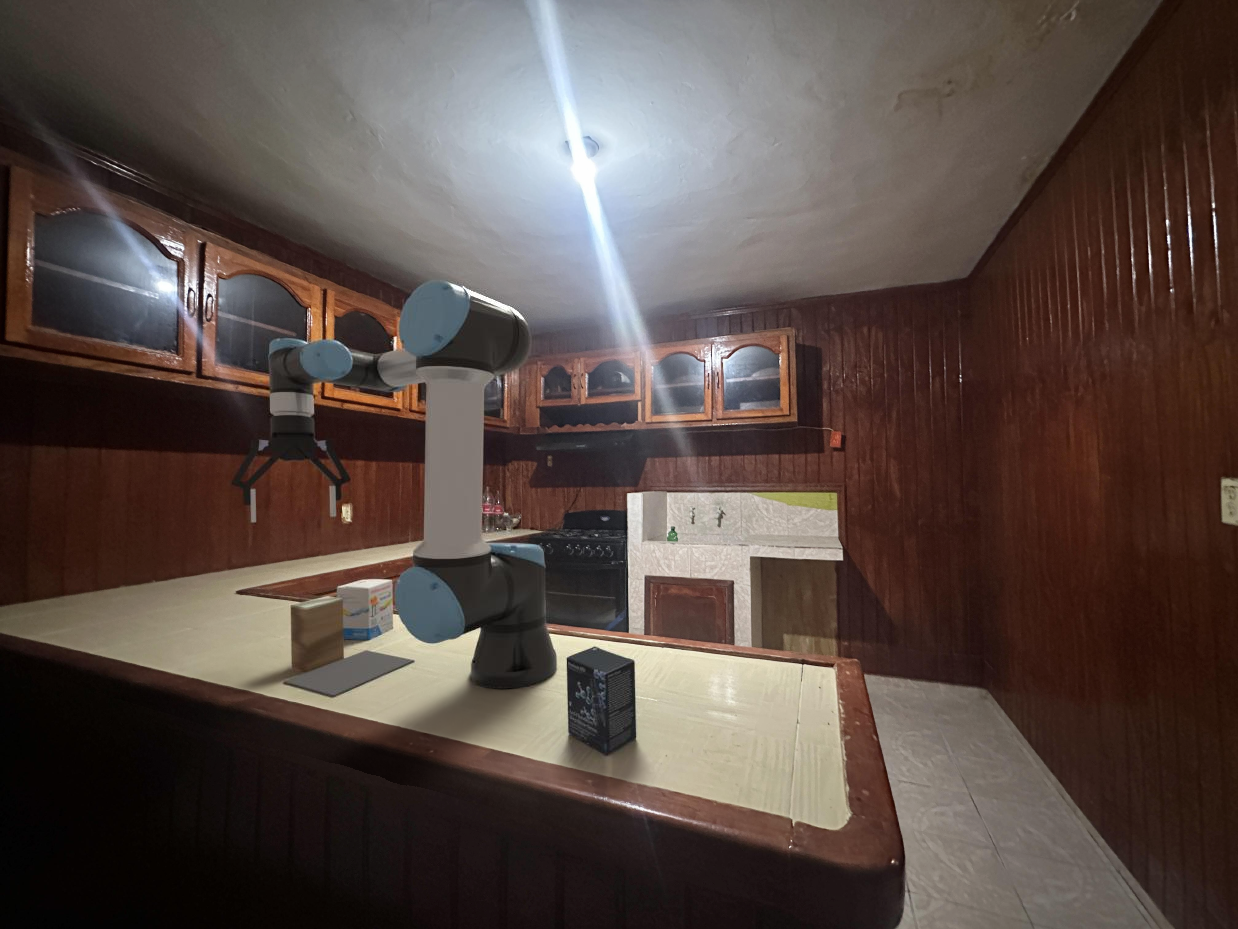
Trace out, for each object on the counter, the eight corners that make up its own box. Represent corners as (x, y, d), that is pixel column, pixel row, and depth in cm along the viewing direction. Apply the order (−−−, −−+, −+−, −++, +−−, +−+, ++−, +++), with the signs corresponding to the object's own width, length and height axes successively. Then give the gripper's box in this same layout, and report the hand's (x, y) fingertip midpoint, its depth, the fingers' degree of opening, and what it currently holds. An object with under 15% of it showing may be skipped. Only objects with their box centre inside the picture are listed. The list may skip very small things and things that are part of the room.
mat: (414, 661, 94) (414, 660, 94) (333, 697, 79) (333, 695, 79) (366, 651, 100) (366, 650, 100) (283, 682, 85) (283, 681, 85)
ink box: (369, 640, 107) (368, 587, 107) (335, 639, 108) (335, 586, 109) (394, 628, 115) (393, 578, 115) (363, 627, 117) (362, 578, 117)
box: (567, 735, 66) (565, 656, 66) (597, 719, 70) (595, 645, 70) (607, 758, 60) (605, 672, 60) (638, 739, 64) (635, 658, 64)
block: (343, 659, 96) (342, 598, 96) (307, 672, 90) (306, 607, 90) (327, 655, 98) (326, 596, 98) (291, 668, 92) (290, 605, 92)
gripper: (356, 420, 111) (359, 513, 110) (214, 415, 96) (216, 523, 95) (363, 416, 105) (366, 514, 104) (213, 410, 90) (215, 525, 89)
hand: (295, 519), depth 100 cm, fingers open, 13 cm apart
